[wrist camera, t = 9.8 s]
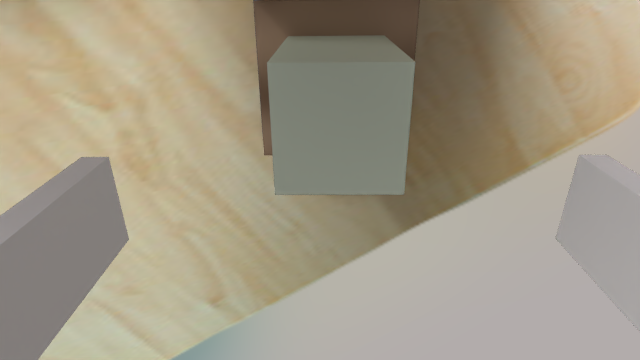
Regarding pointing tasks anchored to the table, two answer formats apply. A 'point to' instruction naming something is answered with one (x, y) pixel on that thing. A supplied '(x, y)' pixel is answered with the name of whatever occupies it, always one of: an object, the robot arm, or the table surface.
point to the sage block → (340, 115)
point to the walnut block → (327, 30)
